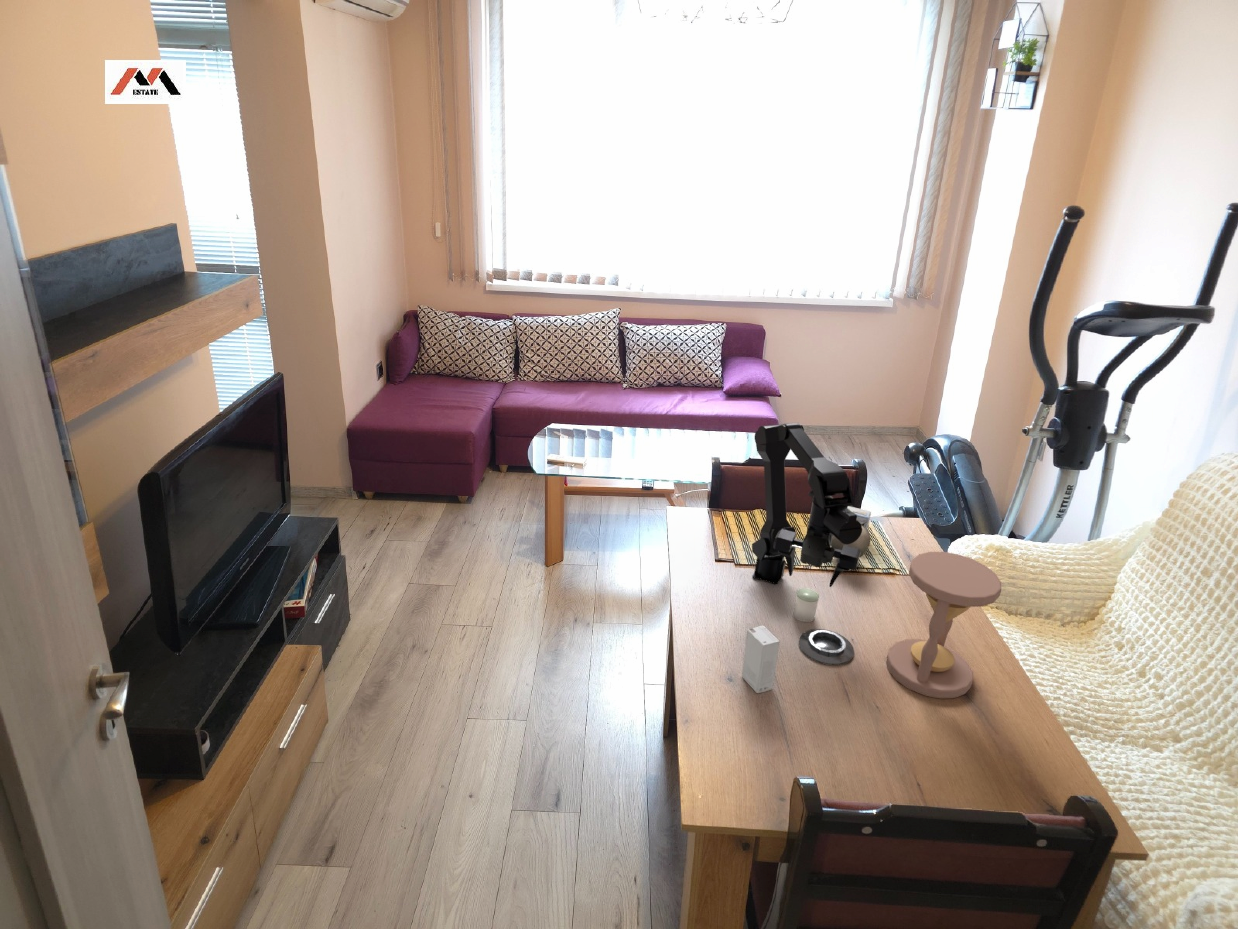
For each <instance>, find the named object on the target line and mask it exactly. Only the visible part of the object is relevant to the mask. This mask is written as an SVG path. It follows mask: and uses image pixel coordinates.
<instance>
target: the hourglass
mask: <svg viewBox="0 0 1238 929" xmlns="http://www.w3.org/2000/svg"><path fill="white" fill-rule="evenodd" d="M908 576H909V577H910V579H911V581H912V583H913V584H914V585H916V587H917V588H918V589H919V590H921V591H922V592H923V593H925V596H926V599H927V600H928V602H929V604H930V607H931V609H932V611H933V614H932V616H931V617H930V621H929V624H928V634H929V635H928V636H929V638H927V639H922V638H921V639H920V638H906V639H905V638H904V639H903V640H899V641H896V642H894V643H893V644H892V645H891V646H890V647H889V648H888V652H887V656H886V662H885V663H886V665H887V668H888V671H889V673H890V674H891V675H892V677H893V678H894V679H895V680H896V681H897V682H898V683H900V684H901V685H902V686H904V687H905V688H907V689H909V690H910V691H913V692H916V693H918V694H921V695H923V696H925V697H930V698H935V699H941V700H942V699H956V698H958V697H961V696H964V695H965V694H967V692H968V691H969V690H970V689H971V688H972V685H973V678H974V677H973V676H974V672H973V669H972V667H971V666H970V664H969V662H968V661H967V660H966V659H965V658H963V656H962V655H960V653H958V652H956V651H955V650H952V648H949V647H948V646H945V644H946V640H947V638H948V637H947V636H948V634H949V633H950V631H951V629H952V626H953V622H954V621H953V620H954V619H955V618H956V617H959V616H961V615H962V614H963V613H965V612H967V611H968V610H969V609H970V608H971V607H972V608H973V607H977V608H978V607H985V606H988V605H992V604H994V603H995V602H996V601H997V600H998V599H999V598H1000V596H1001V593H1002V581H1001V580H1000V578H999V576H998V575H997V574H996V572H994V571H993V570H992V569H991V568H989V567H988V566H986V565H985V564H983V563H981V562H979V561H977V560H975V559H974V558H970V557H967V556H964V555H962V554H958V553H953V552H946V551H928V552H923V553H919V554H917V555H916V556H915V557H913V558H912V559H911V561H910V566H909V570H908Z"/></svg>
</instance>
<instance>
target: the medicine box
mask: <svg viewBox="0 0 1238 929" xmlns="http://www.w3.org/2000/svg"><path fill="white" fill-rule="evenodd" d="M847 508H848V509H849V510H850V511H851V512H853V513H855V514H856V515H857V519H856V520H857V521H859V522H860V523H861V524H863V523H865V524H864V527H865V528H866V529H867V530H868V528H869V523H870V518H871V515H872V511H870V510H866V509H863V508H858V507H854V506H848V507H847Z"/></svg>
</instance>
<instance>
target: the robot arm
mask: <svg viewBox="0 0 1238 929" xmlns="http://www.w3.org/2000/svg"><path fill="white" fill-rule="evenodd" d="M754 442H755V447H756V452H757V454H758V455H759V456H760V459H761V460H762V461H763V467H764V468H763V471H764V492H765V496H764V497H765V516H766V517H765V518H766V520H765V521H764V523H763V525H762V527H761V529H760V532H759V539H758V540H756V541H754V542H753V543H752V544H751V552H752V553H753V554H754V556H755V557H756V562H755V565H754V566H755V568H754V571H753V574H752V576H751V577H752V578H753V579H757V580H760V581H764V582H767V583H771V584H774V585H778V584H779V582H780V580H782V579H783V576H784V574H785V567H786V565H787V570H788V574H789V576H790V577H792V575H793V572H794V569H795V568H794V567H795V566H794V565H795V558H796V555H795V554H796V548H797V549H801V551H800V559H799V560H800V563H802V564H804V565H811V566H814V567H816V568H820V567H822V566H823V564H828V563H829V564H833V562H832V560H833V558H834V557H835V558H839V560H838V563H837V565H836V566H835V569H834V570H833V573H832V577H831V579H830V582H829V588H832V586H833V585H834V583H835V582H836V580H837V579H838V578H839V576H840V575H841V574H842V573H843V572H849V571H856V570H857V567H858V564H859V561H860V558H861V557H860V553H861V552H860V550H859V549H858V548H854V547H850V546H847V545H844V546H843V549H842V550H839V549H835V548H832V547H831V542H832V537H833V535H834V536H835V537H836V538H837V539H838V540H839V541H840V542H841V543H843V544H851V543H853V542H855V541H856V540H857V539H858V538H859V537H860V535H861V533H862V526H861V523H860V522H859V521H857V520H856V519H857V515H856V514H855V513H853V512H851V511H850V510H849V509H848V508H847V507H848V506H850V507H854V505H855V502H854V494H853V490H852V487H851V481H850V478H849V475H848V473H847V472H846V471H845V470H844V468H842V467H841V466H840V465H839V464H838V463H836V462H834V461H831V460H829V459H827V458H826V457H825V456H824V454H823V453H822V451H821V450H819V448H818V447H817V445H816V444H815V443H814V442H813V441H812V439H811V438H810V437H809V435H808V434H807V433H806V432H805V429H804V426H803V424H801V423H799V422H791V423H782V424H773V425H772V424H771V425H770V424H769V425H760V426H759V427H758V429H757V430H755V433H754ZM790 451H791V452H792V453H793V455H794V456H795V457H796V459H797V460H798V462H800V464H801V465H802V467H803V468H804V469H805V471H806V473H807V475H808V476H807V483H808V485H809V487H810V489H811V491H808V493H807V494H808V496H809V497H810V498H812V503H811V507H810V508H811V509H810V513H809V519H808V523H807V529H806V534H805V536H804V538H803V539H800V538H796V537H797V532H796V530H797V529H796V527H795V526H792V525H791V524H790V522H789V521H788V519H787V498H786V497H787V495H786V490H787V489H786V470H785V468H786V467H785V460H786V458H787V457H788V455H789V453H790ZM840 495H842V496H843V497H841V496H840ZM833 496H840V497H835V498H834V497H833Z"/></svg>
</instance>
